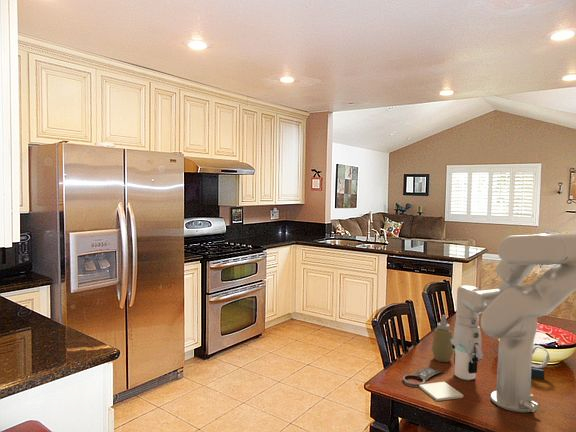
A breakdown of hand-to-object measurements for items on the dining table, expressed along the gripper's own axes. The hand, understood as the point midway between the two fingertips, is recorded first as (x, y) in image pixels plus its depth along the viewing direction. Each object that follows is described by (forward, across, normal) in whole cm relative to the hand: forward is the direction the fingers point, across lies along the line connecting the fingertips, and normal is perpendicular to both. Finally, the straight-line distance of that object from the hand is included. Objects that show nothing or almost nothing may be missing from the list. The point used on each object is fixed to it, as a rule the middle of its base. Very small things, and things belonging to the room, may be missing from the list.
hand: (465, 367), depth 153 cm
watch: (+4, -5, -27) cm, 28 cm away
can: (+4, 0, 0) cm, 4 cm away
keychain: (+4, +3, +15) cm, 16 cm away
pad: (+3, -8, +16) cm, 18 cm away
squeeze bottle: (+4, +16, -2) cm, 17 cm away
